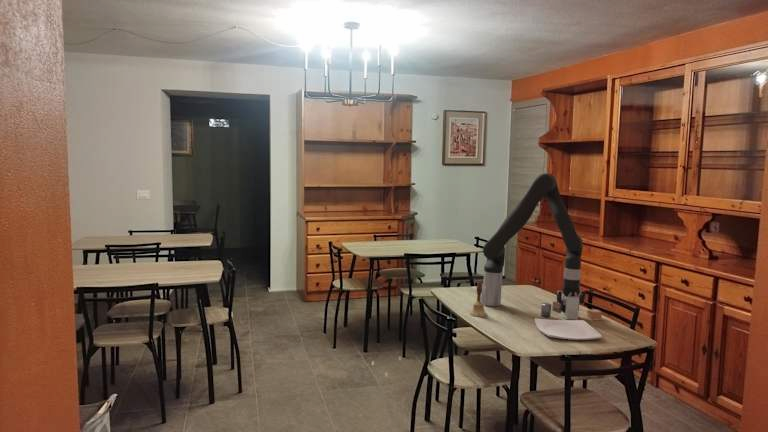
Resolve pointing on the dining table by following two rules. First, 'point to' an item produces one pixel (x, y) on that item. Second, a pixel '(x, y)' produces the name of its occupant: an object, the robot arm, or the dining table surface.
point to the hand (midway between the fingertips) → (569, 311)
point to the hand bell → (478, 304)
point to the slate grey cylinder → (546, 310)
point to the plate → (567, 329)
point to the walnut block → (557, 307)
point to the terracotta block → (594, 314)
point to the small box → (571, 308)
